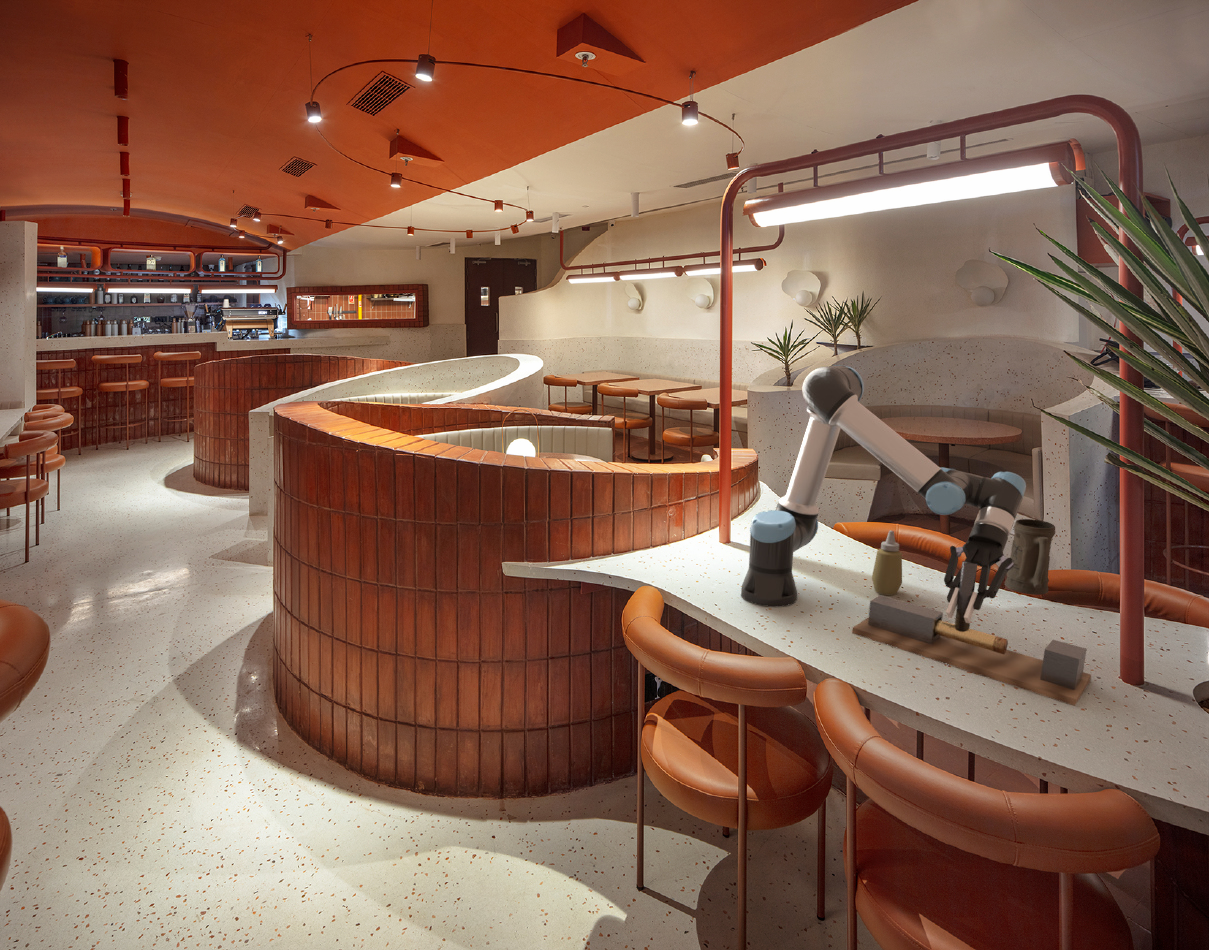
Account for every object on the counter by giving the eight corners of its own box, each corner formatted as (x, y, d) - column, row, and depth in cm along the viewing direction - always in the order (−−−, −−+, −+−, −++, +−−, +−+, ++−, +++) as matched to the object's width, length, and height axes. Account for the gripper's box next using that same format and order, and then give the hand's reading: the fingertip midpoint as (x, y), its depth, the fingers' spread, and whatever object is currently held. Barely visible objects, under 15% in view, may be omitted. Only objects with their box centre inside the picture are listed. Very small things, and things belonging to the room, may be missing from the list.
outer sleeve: (868, 624, 166) (870, 600, 165) (878, 618, 170) (880, 594, 169) (931, 644, 156) (934, 619, 155) (940, 637, 160) (943, 612, 159)
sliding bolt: (879, 619, 165) (886, 546, 161) (885, 615, 168) (892, 543, 164) (1001, 656, 146) (1012, 574, 143) (1006, 651, 149) (1017, 571, 145)
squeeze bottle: (904, 598, 187) (910, 536, 184) (873, 595, 189) (879, 534, 185) (897, 587, 195) (903, 527, 191) (868, 585, 197) (873, 526, 193)
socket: (1040, 679, 140) (1044, 649, 139) (1048, 668, 145) (1052, 639, 143) (1074, 690, 136) (1079, 659, 135) (1081, 678, 141) (1086, 648, 139)
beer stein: (996, 579, 202) (1006, 516, 196) (1034, 581, 201) (1045, 517, 195) (1022, 603, 187) (1034, 535, 182) (1063, 604, 186) (1076, 536, 181)
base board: (852, 633, 165) (852, 627, 165) (876, 616, 175) (877, 611, 175) (1074, 705, 133) (1076, 698, 133) (1090, 680, 143) (1091, 674, 142)
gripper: (1031, 547, 155) (1000, 636, 147) (956, 532, 166) (923, 614, 158) (1028, 529, 150) (995, 620, 142) (951, 515, 161) (917, 599, 153)
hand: (957, 617), depth 150 cm, fingers closed on sliding bolt, 3 cm apart
